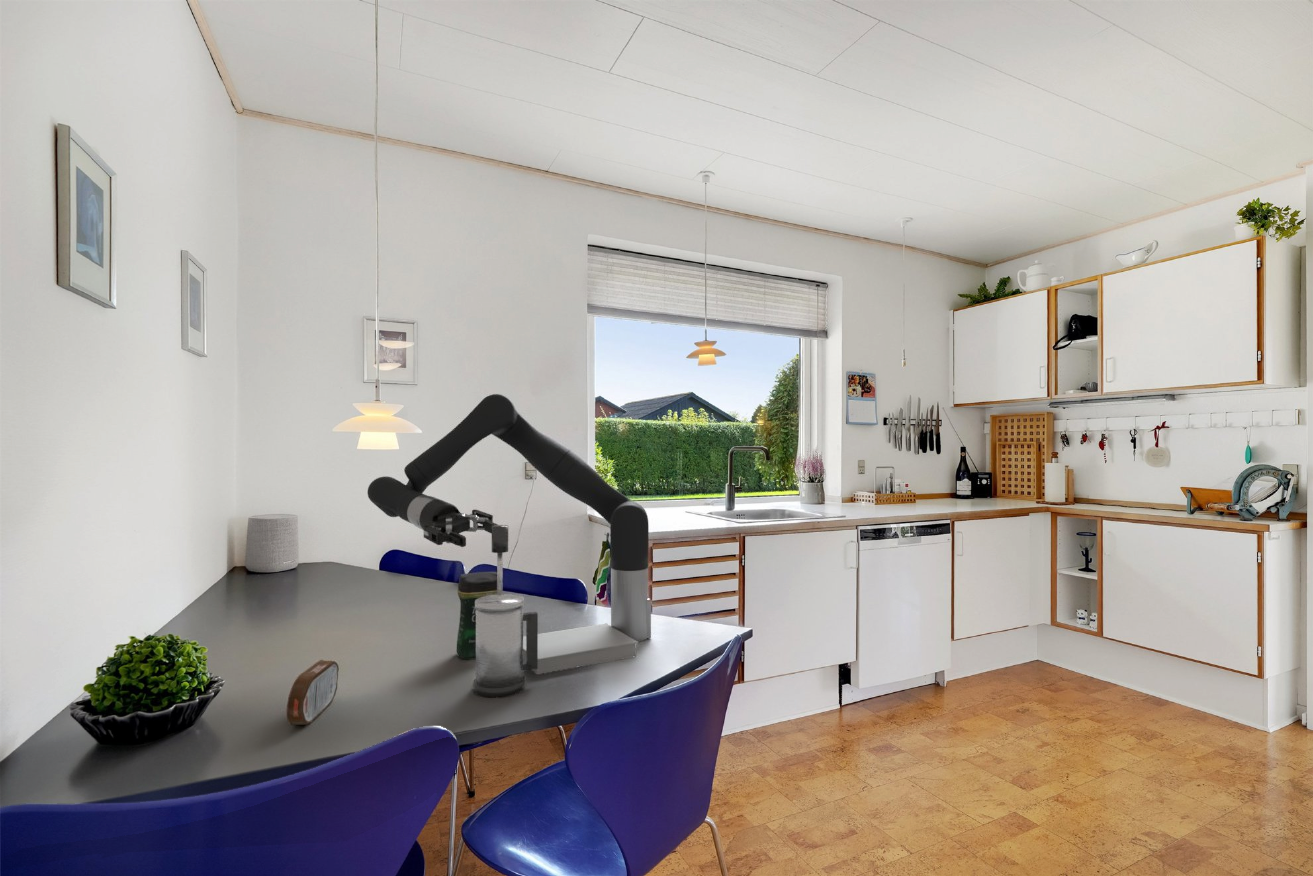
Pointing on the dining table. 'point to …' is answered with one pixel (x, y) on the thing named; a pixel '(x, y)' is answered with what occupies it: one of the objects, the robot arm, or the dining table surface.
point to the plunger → (499, 550)
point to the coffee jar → (472, 608)
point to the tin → (312, 692)
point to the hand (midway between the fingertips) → (481, 536)
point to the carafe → (503, 645)
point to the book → (581, 647)
